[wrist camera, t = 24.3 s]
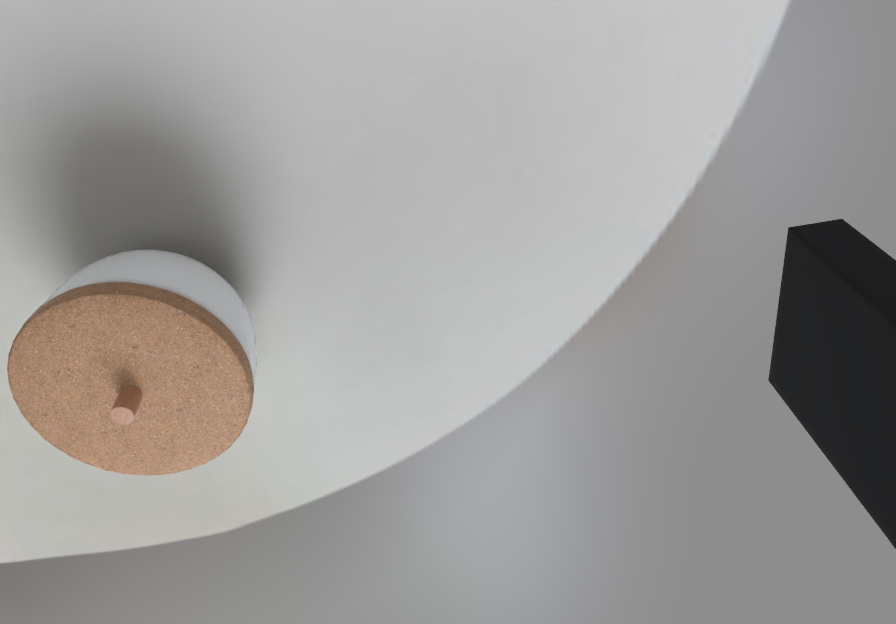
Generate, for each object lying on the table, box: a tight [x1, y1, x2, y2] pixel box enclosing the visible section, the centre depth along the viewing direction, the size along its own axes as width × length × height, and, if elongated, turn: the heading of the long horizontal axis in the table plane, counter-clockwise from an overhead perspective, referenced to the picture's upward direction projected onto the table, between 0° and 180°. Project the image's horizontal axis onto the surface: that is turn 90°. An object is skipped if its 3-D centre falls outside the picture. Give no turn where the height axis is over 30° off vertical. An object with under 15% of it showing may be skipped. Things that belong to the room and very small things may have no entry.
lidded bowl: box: [7, 249, 257, 475], centre depth 42 cm, size 13×13×11 cm
